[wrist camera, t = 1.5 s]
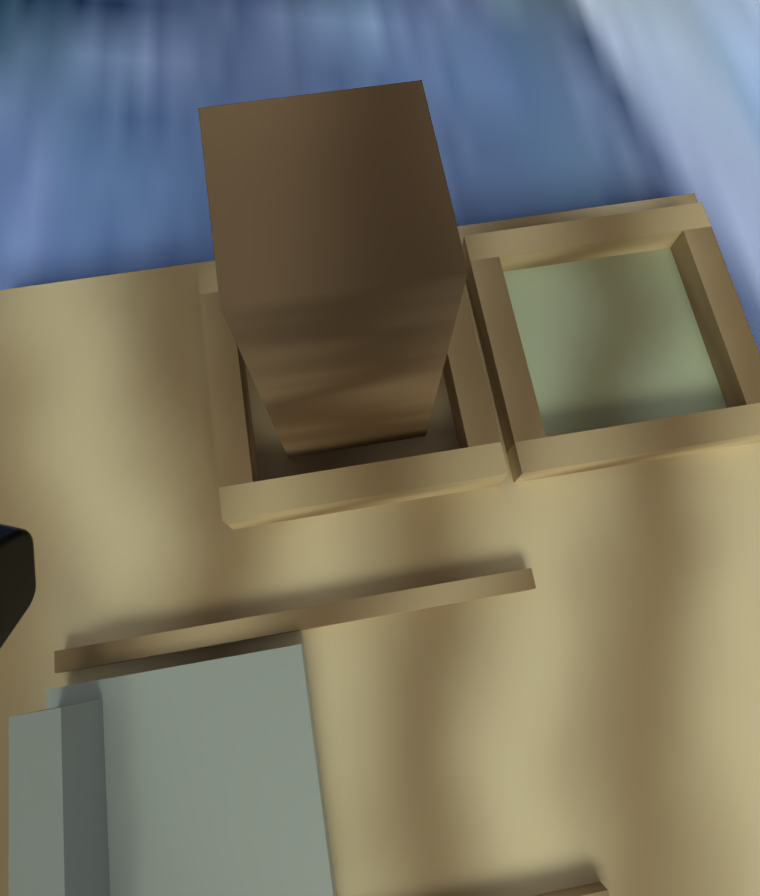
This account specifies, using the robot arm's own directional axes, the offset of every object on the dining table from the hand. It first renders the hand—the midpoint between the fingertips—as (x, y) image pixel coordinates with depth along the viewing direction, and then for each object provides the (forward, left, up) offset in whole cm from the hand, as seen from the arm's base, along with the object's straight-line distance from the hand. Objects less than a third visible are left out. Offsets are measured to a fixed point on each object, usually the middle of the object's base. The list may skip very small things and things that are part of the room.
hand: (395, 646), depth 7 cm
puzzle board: (+1, +3, -13) cm, 14 cm away
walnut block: (0, +8, -12) cm, 14 cm away
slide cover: (-6, -3, -12) cm, 13 cm away
